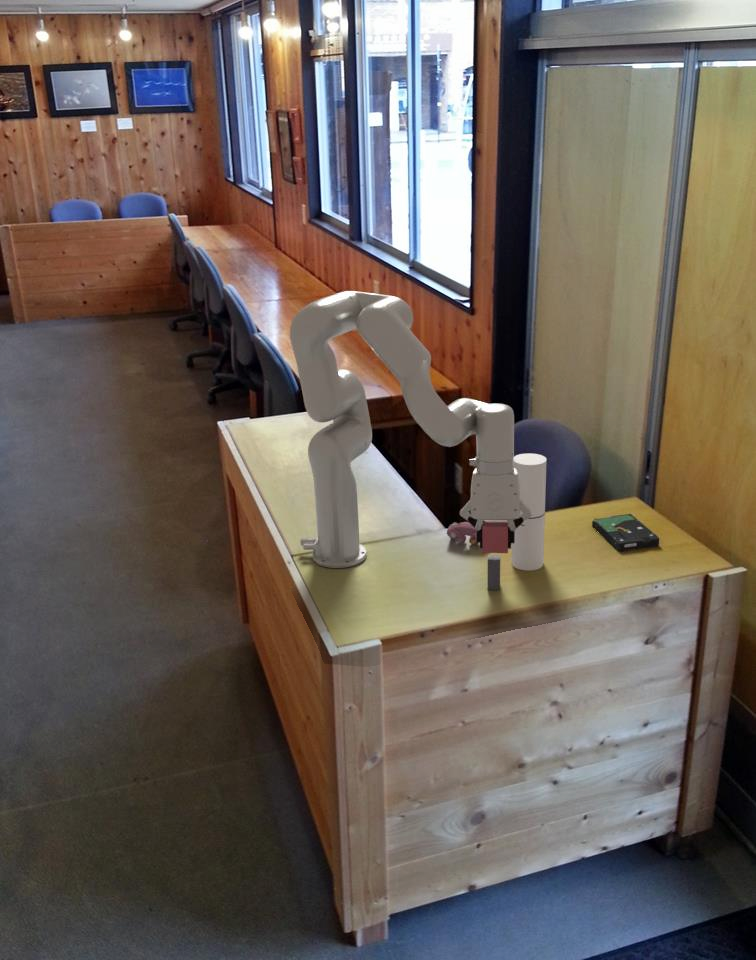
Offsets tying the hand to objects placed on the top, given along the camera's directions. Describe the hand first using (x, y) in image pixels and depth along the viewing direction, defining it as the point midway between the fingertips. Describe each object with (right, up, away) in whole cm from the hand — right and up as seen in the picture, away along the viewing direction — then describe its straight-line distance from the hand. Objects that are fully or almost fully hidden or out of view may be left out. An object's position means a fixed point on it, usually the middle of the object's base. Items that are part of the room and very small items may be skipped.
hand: (495, 544), depth 195 cm
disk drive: (+34, 0, +25) cm, 42 cm away
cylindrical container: (+9, -5, +14) cm, 17 cm away
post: (0, -9, +4) cm, 10 cm away
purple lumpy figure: (-3, -2, +25) cm, 25 cm away
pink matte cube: (0, -1, 0) cm, 1 cm away
